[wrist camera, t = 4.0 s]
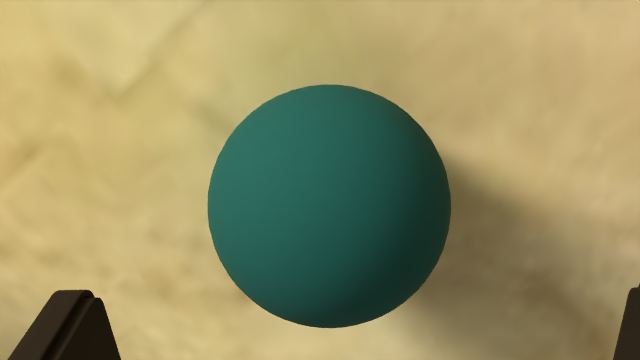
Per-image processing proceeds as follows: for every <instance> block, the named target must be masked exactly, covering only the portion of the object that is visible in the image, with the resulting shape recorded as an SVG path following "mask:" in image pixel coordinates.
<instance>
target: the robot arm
mask: <svg viewBox="0 0 640 360" xmlns="http://www.w3.org/2000/svg"><path fill="white" fill-rule="evenodd" d="M8 360H121V358H120V355H119V352H118V348H117V345H116V342H115V339H114V335H113V332H112V329H111V326H110V323H109V319H108V316H107V313H106V310H105V307H104V303H103V301H102V300H101V299H100V298H95V297H94V295H93V293H92V292H91V291H90V290H59V291H56V292H55V293H54V294H53V295H52V296H51V297H50V299H49V300H48V302H47V303H46V304H45V306H44V307H43V309H42V310H41V312H40V313H39V315H38V316H37V318H36V319H35V321H34V322H33V323H32V325H31V326H30V328H29V329H28V331H27V332H26V334H25V335H24V337H23V338H22V339H21V341H20V342H19V344H18V345H17V347H16V348H15V350H14V351H13V353H12V354H11V355H10V357H9V358H8ZM613 360H640V284H639V287H637V288H632V289H631V290H630V291H629V294H628V298H627V302H626V307H625V311H624V315H623V320H622V324H621V328H620V332H619V337H618V341H617V345H616V349H615V354H614V358H613Z"/></svg>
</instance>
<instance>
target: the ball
mask: <svg viewBox="0 0 640 360" xmlns="http://www.w3.org/2000/svg"><path fill="white" fill-rule="evenodd" d="M450 213H451V198H450V190H449V185H448V179H447V174H446V171H445V168H444V165H443V162H442V160H441V157H440V156H439V154H438V152H437V150H436V148H435V146H434V144H433V142H432V140H431V139H430V138H429V136H428V135H427V134H426V132H425V131H424V130H423V128H422V127H421V126H420V125H419V124H418V123H417V122H416V121H415V120H414V119H413V118H412V117H411V116H410V115H409V114H408V113H407V112H405V111H404V110H403V109H401V108H400V107H399V106H397V105H396V104H394V103H392V102H391V101H389V100H387V99H385V98H384V97H381V96H379V95H377V94H374V93H372V92H369V91H366V90H362V89H358V88H355V87H349V86H342V85H317V86H308V87H304V88H300V89H296V90H292V91H289V92H287V93H284V94H282V95H279V96H277V97H275V98H273V99H271V100H269V101H267V102H266V103H264V104H263V105H261V106H260V107H258V108H257V109H256V110H254V111H253V112H252V113H251V114H250V115H249V116H247V117H246V118H245V119H244V120H243V121H242V122H241V123H240V124H239V125H238V126H237V127H236V129H235V130H234V131H233V133H232V134H231V135H230V137H229V138H228V140H227V142H226V143H225V145H224V147H223V149H222V151H221V152H220V154H219V156H218V158H217V161H216V164H215V166H214V169H213V173H212V177H211V181H210V186H209V191H208V220H209V228H210V232H211V235H212V239H213V243H214V246H215V249H216V252H217V254H218V256H219V259H220V261H221V262H222V264H223V266H224V268H225V269H226V271H227V273H228V274H229V276H230V277H231V279H232V280H233V281H234V282H235V284H236V285H237V286H238V287H239V288H240V289H241V290H242V291H243V292H244V293H245V294H246V295H247V296H248V297H249V298H250V299H251V300H252V301H254V302H255V303H256V304H258V305H259V306H260V307H262V308H263V309H265V310H267V311H268V312H270V313H272V314H274V315H276V316H278V317H280V318H282V319H285V320H288V321H291V322H294V323H297V324H301V325H305V326H310V327H319V328H339V327H348V326H353V325H358V324H361V323H365V322H368V321H371V320H374V319H376V318H379V317H381V316H383V315H385V314H387V313H389V312H390V311H392V310H394V309H395V308H397V307H398V306H400V305H401V304H402V303H404V302H405V301H406V300H407V299H408V298H410V297H411V296H412V295H413V294H414V293H415V292H416V291H417V290H418V289H419V288H420V287H421V286H422V284H423V283H424V282H425V281H426V279H427V278H428V276H429V275H430V273H431V272H432V270H433V268H434V267H435V265H436V264H437V262H438V260H439V257H440V255H441V253H442V251H443V248H444V245H445V241H446V238H447V234H448V231H449V223H450Z"/></svg>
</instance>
